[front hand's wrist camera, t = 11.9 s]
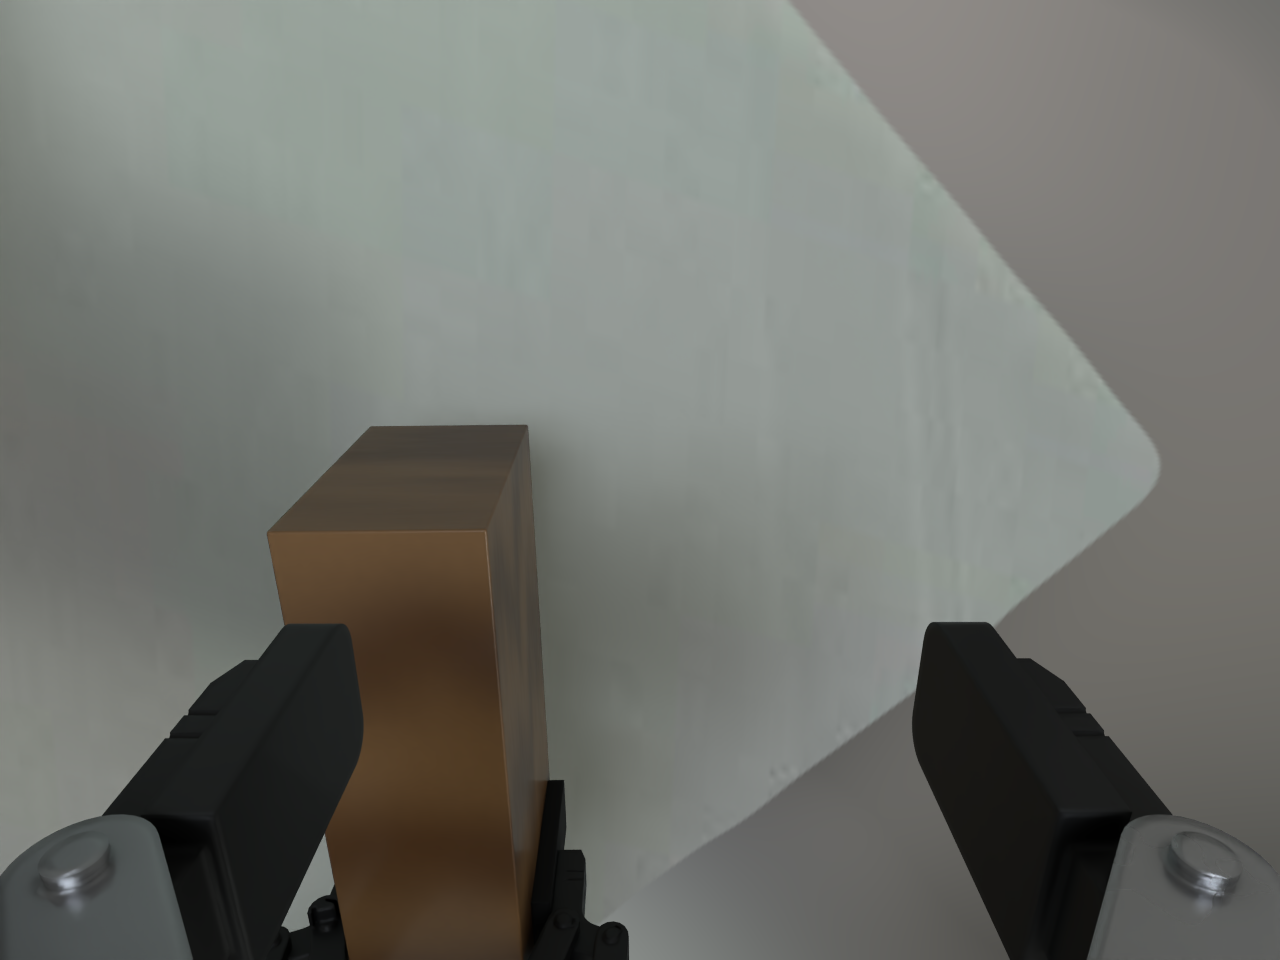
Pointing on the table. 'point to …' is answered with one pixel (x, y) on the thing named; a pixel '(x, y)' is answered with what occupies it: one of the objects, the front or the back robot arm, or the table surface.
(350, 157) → the table surface
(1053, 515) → the table surface
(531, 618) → the box
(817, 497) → the table surface
